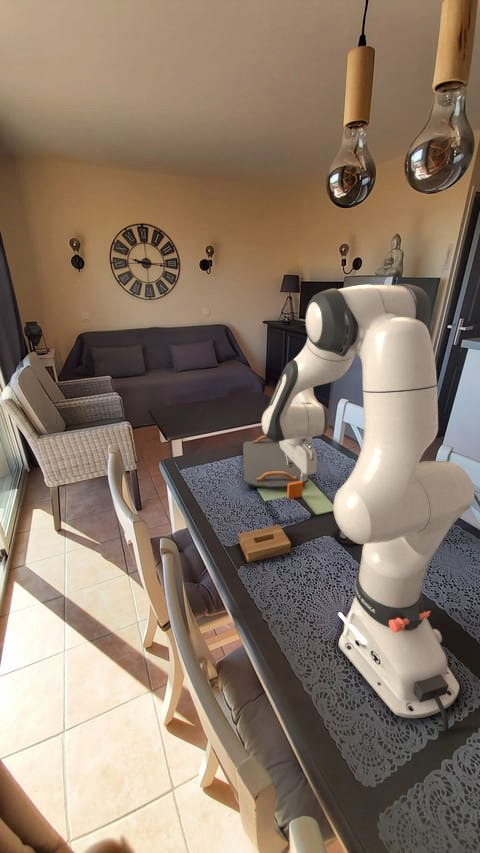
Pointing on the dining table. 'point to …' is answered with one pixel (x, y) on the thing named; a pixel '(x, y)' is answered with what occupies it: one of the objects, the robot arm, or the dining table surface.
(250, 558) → the token holder
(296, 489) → the block
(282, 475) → the serving tray
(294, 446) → the robot arm
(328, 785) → the dining table surface
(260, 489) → the mat
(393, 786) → the dining table surface
